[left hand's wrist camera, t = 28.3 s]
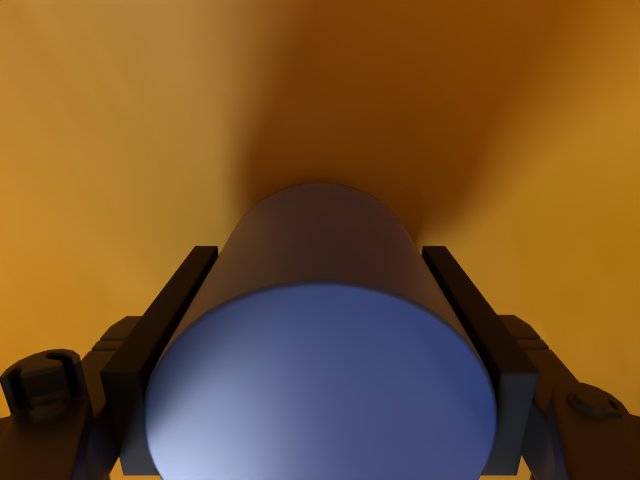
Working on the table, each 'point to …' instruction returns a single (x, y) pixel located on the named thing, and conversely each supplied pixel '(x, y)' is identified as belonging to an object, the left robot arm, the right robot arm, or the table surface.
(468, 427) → the cylinder
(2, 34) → the table surface
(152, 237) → the table surface
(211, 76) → the table surface
